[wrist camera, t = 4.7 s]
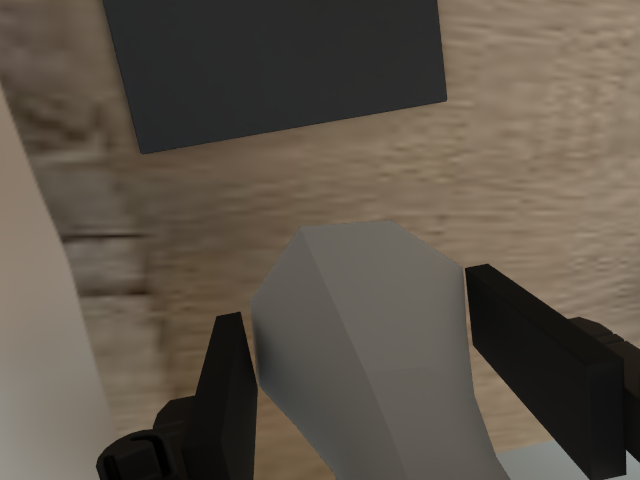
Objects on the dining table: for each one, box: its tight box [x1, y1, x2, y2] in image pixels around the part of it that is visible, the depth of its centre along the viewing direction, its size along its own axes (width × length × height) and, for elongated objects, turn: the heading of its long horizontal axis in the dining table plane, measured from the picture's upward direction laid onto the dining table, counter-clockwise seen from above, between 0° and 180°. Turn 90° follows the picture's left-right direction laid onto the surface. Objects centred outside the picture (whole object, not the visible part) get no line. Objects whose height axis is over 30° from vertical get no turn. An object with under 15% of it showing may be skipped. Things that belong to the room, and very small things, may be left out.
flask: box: [250, 220, 510, 480], centre depth 12 cm, size 7×7×10 cm
